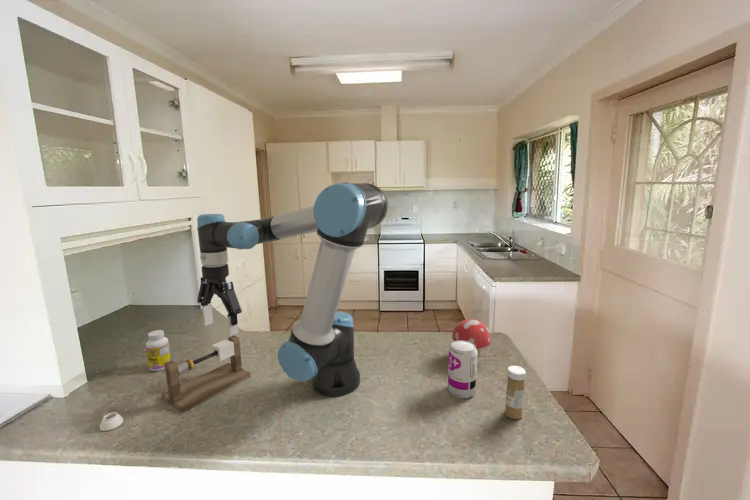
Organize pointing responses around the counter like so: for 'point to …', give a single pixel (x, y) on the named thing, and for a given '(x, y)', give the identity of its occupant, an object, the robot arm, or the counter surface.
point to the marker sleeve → (223, 349)
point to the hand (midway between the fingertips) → (220, 329)
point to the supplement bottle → (157, 350)
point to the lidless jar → (111, 421)
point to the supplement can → (462, 369)
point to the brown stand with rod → (202, 380)
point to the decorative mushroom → (472, 334)
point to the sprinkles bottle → (515, 392)
